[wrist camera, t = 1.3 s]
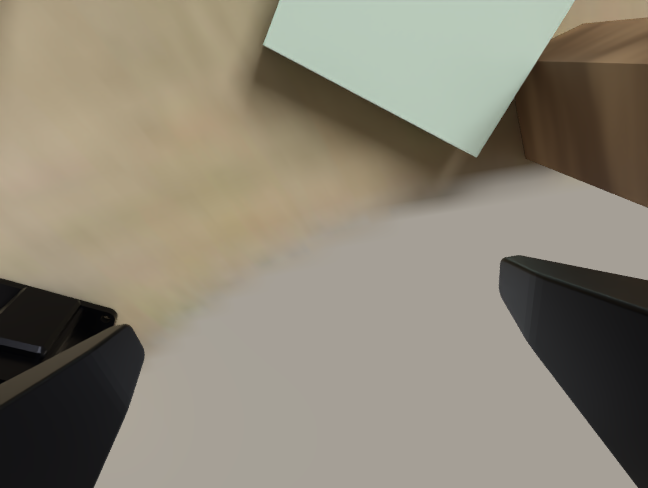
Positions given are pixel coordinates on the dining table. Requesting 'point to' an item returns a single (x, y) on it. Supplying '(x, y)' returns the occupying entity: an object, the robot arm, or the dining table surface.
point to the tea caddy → (591, 107)
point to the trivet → (422, 55)
